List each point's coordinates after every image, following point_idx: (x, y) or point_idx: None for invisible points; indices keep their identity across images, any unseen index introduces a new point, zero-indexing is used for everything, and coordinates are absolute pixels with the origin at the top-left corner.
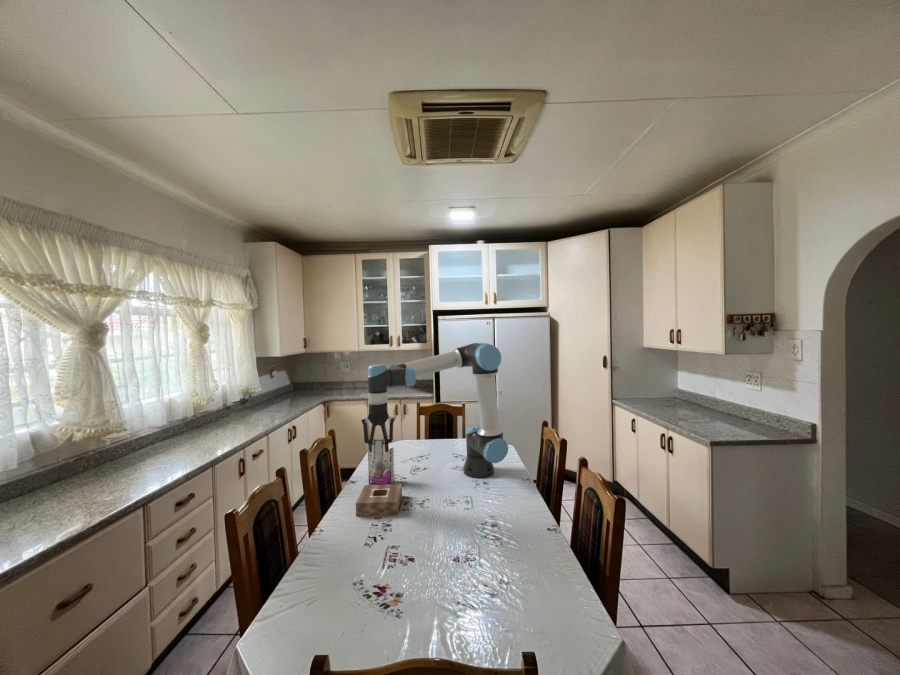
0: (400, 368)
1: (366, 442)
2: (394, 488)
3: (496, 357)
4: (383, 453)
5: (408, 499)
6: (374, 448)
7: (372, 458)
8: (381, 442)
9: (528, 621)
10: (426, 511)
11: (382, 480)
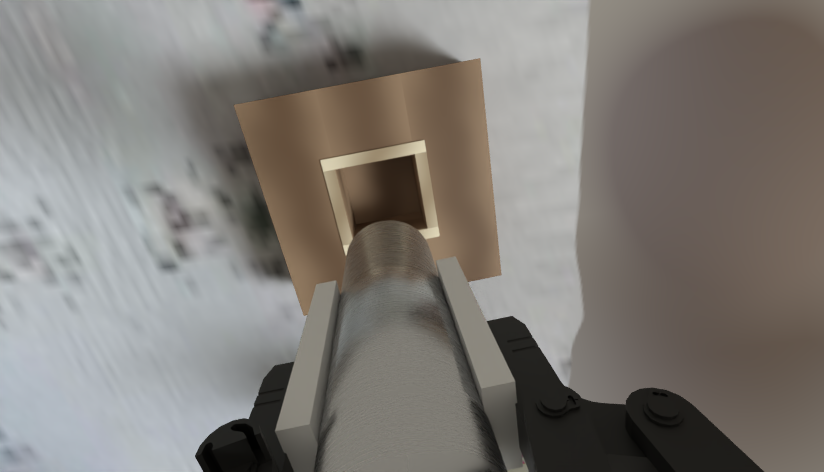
0: None
1: (641, 401)
2: (321, 261)
3: None
4: (323, 327)
5: (264, 252)
6: (456, 351)
7: (456, 269)
8: (328, 452)
9: None
10: (116, 149)
11: None
